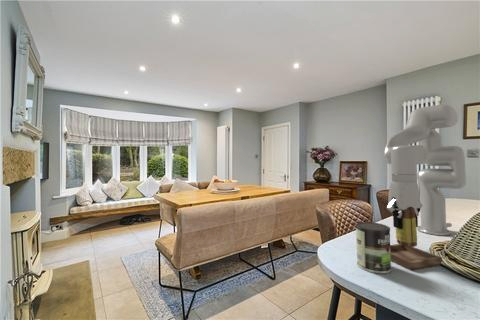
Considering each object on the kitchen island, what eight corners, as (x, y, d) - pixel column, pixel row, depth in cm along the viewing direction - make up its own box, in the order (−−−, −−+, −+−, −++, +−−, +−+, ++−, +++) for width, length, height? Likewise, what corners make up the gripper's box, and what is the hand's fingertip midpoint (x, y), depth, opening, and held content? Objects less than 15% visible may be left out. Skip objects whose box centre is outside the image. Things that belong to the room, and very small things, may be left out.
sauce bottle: (409, 241, 83) (408, 189, 84) (421, 247, 77) (420, 192, 77) (391, 241, 84) (390, 189, 84) (402, 247, 78) (400, 192, 78)
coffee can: (397, 268, 74) (396, 227, 74) (380, 277, 69) (378, 232, 69) (368, 257, 83) (366, 220, 83) (350, 263, 78) (349, 224, 78)
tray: (403, 249, 89) (403, 243, 89) (442, 264, 76) (442, 257, 76) (375, 253, 86) (375, 247, 86) (410, 270, 72) (410, 263, 72)
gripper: (411, 177, 87) (413, 222, 86) (376, 179, 82) (377, 226, 82) (432, 178, 79) (434, 227, 79) (394, 180, 75) (396, 232, 75)
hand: (405, 226), depth 81 cm, fingers closed on sauce bottle, 6 cm apart
